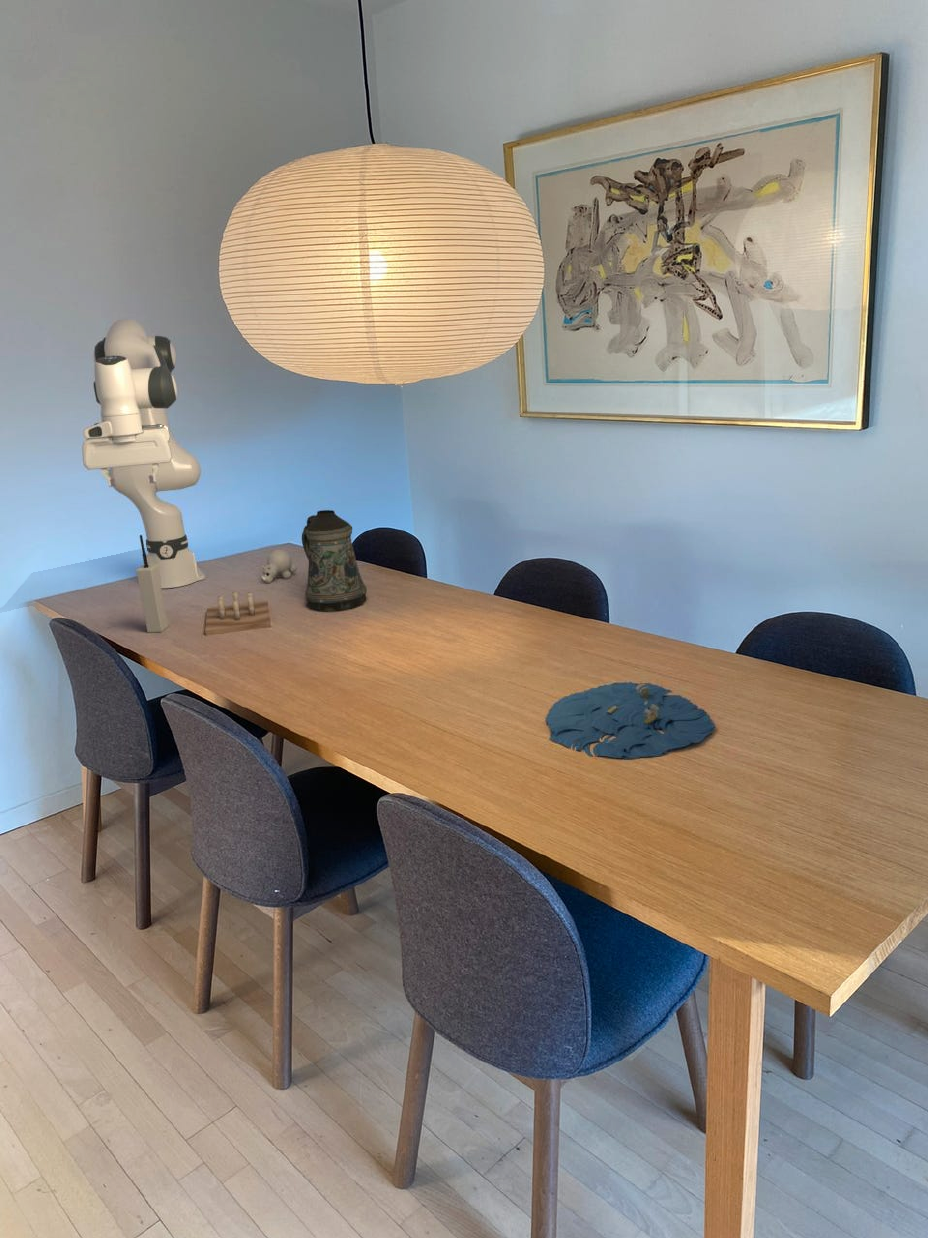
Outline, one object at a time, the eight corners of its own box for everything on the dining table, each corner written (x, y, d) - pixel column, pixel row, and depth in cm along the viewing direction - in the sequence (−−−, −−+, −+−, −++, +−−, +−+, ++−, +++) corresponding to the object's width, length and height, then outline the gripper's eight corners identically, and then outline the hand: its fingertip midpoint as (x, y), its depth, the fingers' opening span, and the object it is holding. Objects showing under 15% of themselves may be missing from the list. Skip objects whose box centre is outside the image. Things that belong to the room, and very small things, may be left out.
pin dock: (207, 612, 240) (204, 590, 238) (267, 604, 244) (265, 582, 242) (205, 635, 222) (202, 611, 220) (270, 626, 225) (267, 603, 223)
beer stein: (350, 614, 231) (340, 519, 223) (285, 610, 238) (273, 518, 230) (377, 595, 246) (369, 506, 238) (315, 592, 252) (305, 505, 245)
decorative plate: (697, 781, 142) (698, 752, 140) (521, 752, 154) (520, 725, 152) (728, 702, 167) (729, 676, 165) (574, 682, 179) (573, 659, 177)
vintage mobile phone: (169, 626, 231) (153, 531, 223) (161, 632, 226) (144, 536, 218) (155, 626, 231) (139, 532, 223) (147, 633, 226) (130, 536, 219)
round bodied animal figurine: (260, 590, 268) (248, 567, 263) (285, 566, 275) (273, 544, 270) (277, 592, 264) (265, 569, 259) (301, 568, 271) (290, 545, 266)
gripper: (169, 422, 218) (178, 478, 222) (80, 429, 213) (91, 486, 218) (167, 424, 212) (176, 482, 216) (76, 431, 208) (87, 490, 212)
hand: (133, 484), depth 217 cm, fingers open, 8 cm apart
